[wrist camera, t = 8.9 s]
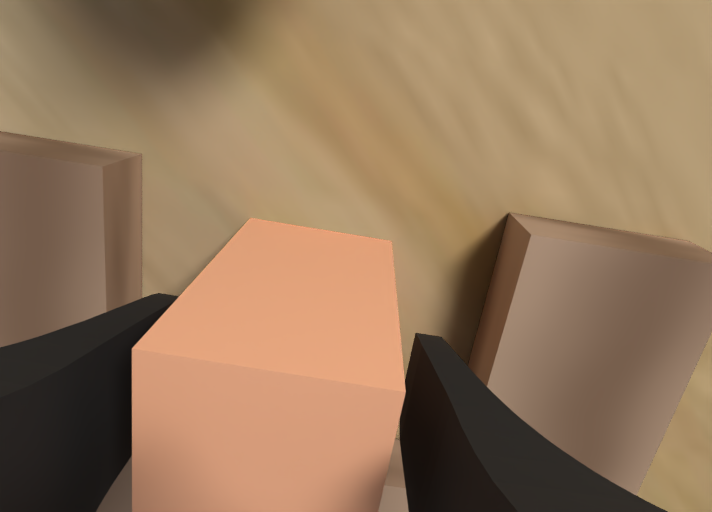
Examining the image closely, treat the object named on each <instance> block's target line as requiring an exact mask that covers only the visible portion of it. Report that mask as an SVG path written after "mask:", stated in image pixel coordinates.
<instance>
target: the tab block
mask: <svg viewBox="0 0 712 512" xmlns="http://www.w3.org/2000/svg"><path fill="white" fill-rule="evenodd" d="M405 393H406V389H405V379H404V368H403V357H402V346H401V335H400V325H399V314H398V303H397V292H396V281H395V271H394V260H393V249H392V241H388V240H382V239H376V238H370V237H364V236H358V235H352V234H345V233H339V232H333V231H327V230H321V229H315V228H309V227H303V226H297V225H291V224H284V223H278V222H272V221H266V220H260V219H254V218H250V219H249V220H248V221H247V222H246V223H245V224H244V225H243V227H242V228H241V229H240V230H239V231H238V232H237V233H236V234H235V235H234V236H233V238H232V239H231V240H230V241H229V242H228V243H227V244H226V245H225V246H224V247H223V249H222V250H221V251H220V252H219V253H218V254H217V255H216V256H215V257H214V259H213V260H212V261H211V262H210V263H209V264H208V265H207V266H206V267H205V268H204V270H203V271H202V272H201V273H200V274H199V275H198V276H197V277H196V278H195V279H194V281H193V282H192V283H191V284H190V285H189V286H188V287H187V288H186V289H185V291H184V292H183V293H182V294H181V295H180V296H179V297H178V298H177V299H176V300H175V302H174V303H173V304H172V305H171V306H170V307H169V308H168V309H167V310H166V312H165V313H164V314H163V315H162V316H161V317H160V318H159V319H158V320H157V321H156V323H155V324H154V325H153V326H152V327H151V328H150V329H149V330H148V331H147V332H146V334H145V335H144V336H143V337H142V338H141V339H140V340H139V341H138V342H137V344H136V345H135V346H134V347H133V348H132V512H378V510H379V506H380V501H381V497H382V493H383V488H384V484H385V480H386V475H387V471H388V467H389V462H390V458H391V454H392V449H393V445H394V441H395V436H396V432H397V428H398V423H399V419H400V415H401V411H402V406H403V402H404V398H405Z"/></svg>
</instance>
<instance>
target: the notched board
mask: <svg viewBox="0 0 712 512" xmlns="http://www.w3.org/2000/svg"><path fill="white" fill-rule="evenodd" d="M141 298H142V154H139V153H133V152H126V151H120V150H114V149H108V148H101V147H95V146H89V145H82V144H76V143H70V142H64V141H57V140H51V139H45V138H39V137H32V136H26V135H20V134H13V133H7V132H1V131H0V347H4V346H7V345H11V344H15V343H18V342H22V341H25V340H29V339H32V338H35V337H38V336H42V335H44V334H47V333H50V332H53V331H56V330H59V329H62V328H65V327H67V326H70V325H73V324H76V323H79V322H82V321H85V320H87V319H90V318H92V317H95V316H98V315H100V314H103V313H105V312H108V311H110V310H113V309H115V308H118V307H121V306H123V305H126V304H128V303H131V302H133V301H136V300H139V299H141ZM711 332H712V253H711V252H709V251H707V250H705V249H703V248H702V247H700V246H698V245H696V244H694V243H692V242H690V241H685V240H679V239H672V238H666V237H660V236H653V235H647V234H641V233H635V232H628V231H622V230H616V229H610V228H603V227H597V226H591V225H584V224H578V223H572V222H566V221H559V220H553V219H547V218H541V217H534V216H528V215H522V214H515V213H509V215H508V219H507V222H506V226H505V230H504V234H503V237H502V241H501V245H500V248H499V252H498V256H497V259H496V263H495V267H494V270H493V274H492V278H491V281H490V285H489V289H488V293H487V296H486V300H485V304H484V307H483V311H482V315H481V318H480V322H479V326H478V329H477V333H476V337H475V341H474V344H473V348H472V352H471V355H470V359H469V363H468V367H469V368H470V369H471V370H472V372H473V373H474V374H475V375H476V376H477V377H478V378H479V379H480V380H481V381H482V382H483V383H484V384H485V385H486V386H487V387H488V388H489V389H490V390H491V391H492V392H493V393H494V394H495V395H496V396H497V397H498V398H499V399H500V400H501V401H502V402H503V403H504V404H505V405H506V406H507V407H509V408H510V409H511V410H512V411H513V412H514V413H515V414H516V415H517V416H519V417H520V418H521V419H522V420H523V421H525V422H526V423H527V424H528V425H530V426H531V427H532V428H533V429H535V430H536V431H537V432H538V433H540V434H541V435H542V436H543V437H545V438H546V439H547V440H549V441H550V442H551V443H553V444H554V445H556V446H557V447H558V448H560V449H561V450H563V451H564V452H566V453H567V454H569V455H570V456H572V457H573V458H575V459H576V460H578V461H579V462H581V463H582V464H584V465H585V466H587V467H588V468H590V469H591V470H593V471H595V472H596V473H598V474H600V475H601V476H603V477H605V478H606V479H608V480H609V481H611V482H613V483H615V484H616V485H618V486H620V487H622V488H624V489H625V490H627V491H629V492H631V493H633V494H634V495H637V493H638V491H639V489H640V487H641V484H642V482H643V480H644V478H645V476H646V474H647V471H648V469H649V467H650V465H651V463H652V461H653V458H654V456H655V454H656V452H657V450H658V447H659V445H660V443H661V441H662V439H663V437H664V434H665V432H666V430H667V428H668V426H669V424H670V421H671V419H672V417H673V415H674V413H675V411H676V408H677V406H678V404H679V402H680V400H681V398H682V395H683V393H684V391H685V389H686V387H687V385H688V382H689V380H690V378H691V376H692V374H693V372H694V369H695V367H696V365H697V363H698V361H699V359H700V356H701V354H702V352H703V350H704V348H705V346H706V343H707V341H708V339H709V337H710V335H711ZM96 512H132V456H131V458H130V459H129V461H128V462H127V463H126V465H125V466H124V468H123V469H122V471H121V472H120V474H119V475H118V477H117V478H116V480H115V481H114V483H113V484H112V486H111V487H110V489H109V491H108V492H107V494H106V495H105V497H104V499H103V500H102V502H101V504H100V505H99V507H98V509H97V511H96ZM378 512H409V510H408V503H407V495H406V487H405V480H404V472H403V464H402V456H401V447H400V440H399V439H395V441H394V445H393V449H392V454H391V458H390V462H389V467H388V471H387V475H386V480H385V484H384V488H383V493H382V497H381V501H380V506H379V510H378Z"/></svg>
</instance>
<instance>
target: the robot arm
mask: <svg viewBox="0 0 712 512" xmlns="http://www.w3.org/2000/svg"><path fill="white" fill-rule="evenodd" d="M178 297H179V296H174V295H167V294H161V293H158V294H154V295H150V296H147V297H144V298H141V299H139V300H136V301H133V302H131V303H128V304H126V305H123V306H121V307H118V308H115V309H113V310H110V311H108V312H105V313H103V314H100V315H98V316H95V317H92V318H90V319H87V320H85V321H82V322H79V323H76V324H73V325H70V326H67V327H65V328H62V329H59V330H56V331H53V332H50V333H47V334H44V335H42V336H38V337H35V338H32V339H29V340H25V341H22V342H18V343H15V344H11V345H7V346H4V347H0V512H96V511H97V509H98V507H99V505H100V504H101V502H102V500H103V499H104V497H105V495H106V494H107V492H108V491H109V489H110V487H111V486H112V484H113V483H114V481H115V480H116V478H117V477H118V475H119V474H120V472H121V471H122V469H123V468H124V466H125V465H126V463H127V462H128V461H129V459H130V458H131V456H132V348H133V347H134V346H135V345H136V344H137V342H138V341H139V340H140V339H141V338H142V337H143V336H144V335H145V334H146V332H147V331H148V330H149V329H150V328H151V327H152V326H153V325H154V324H155V323H156V321H157V320H158V319H159V318H160V317H161V316H162V315H163V314H164V313H165V312H166V310H167V309H168V308H169V307H170V306H171V305H172V304H173V303H174V302H175V300H176V299H177V298H178ZM405 389H406V393H405V398H404V402H403V406H402V411H401V415H400V447H401V456H402V464H403V472H404V480H405V487H406V495H407V503H408V510H409V512H667V511H665V510H663V509H661V508H659V507H657V506H655V505H653V504H651V503H649V502H647V501H645V500H643V499H642V498H640V497H638V496H636V495H634V494H633V493H631V492H629V491H627V490H625V489H624V488H622V487H620V486H618V485H616V484H615V483H613V482H611V481H609V480H608V479H606V478H605V477H603V476H601V475H600V474H598V473H596V472H595V471H593V470H591V469H590V468H588V467H587V466H585V465H584V464H582V463H581V462H579V461H578V460H576V459H575V458H573V457H572V456H570V455H569V454H567V453H566V452H564V451H563V450H561V449H560V448H558V447H557V446H556V445H554V444H553V443H551V442H550V441H549V440H547V439H546V438H545V437H543V436H542V435H541V434H540V433H538V432H537V431H536V430H535V429H533V428H532V427H531V426H530V425H528V424H527V423H526V422H525V421H523V420H522V419H521V418H520V417H519V416H517V415H516V414H515V413H514V412H513V411H512V410H511V409H510V408H509V407H507V406H506V405H505V404H504V403H503V402H502V401H501V400H500V399H499V398H498V397H497V396H496V395H495V394H494V393H493V392H492V391H491V390H490V389H489V388H488V387H487V386H486V385H485V384H484V383H483V382H482V381H481V380H480V379H479V378H478V377H477V376H476V375H475V374H474V373H473V372H472V370H471V369H470V368H469V367H468V366H467V365H466V364H465V363H464V362H463V360H462V359H461V358H460V357H459V356H458V355H457V354H456V353H455V351H454V350H453V349H452V348H451V347H450V346H449V345H448V344H447V342H446V341H445V340H444V339H443V338H442V337H439V336H432V335H426V334H419V333H416V334H415V338H414V343H413V347H412V352H411V356H410V361H409V365H408V370H407V374H406V379H405Z"/></svg>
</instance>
